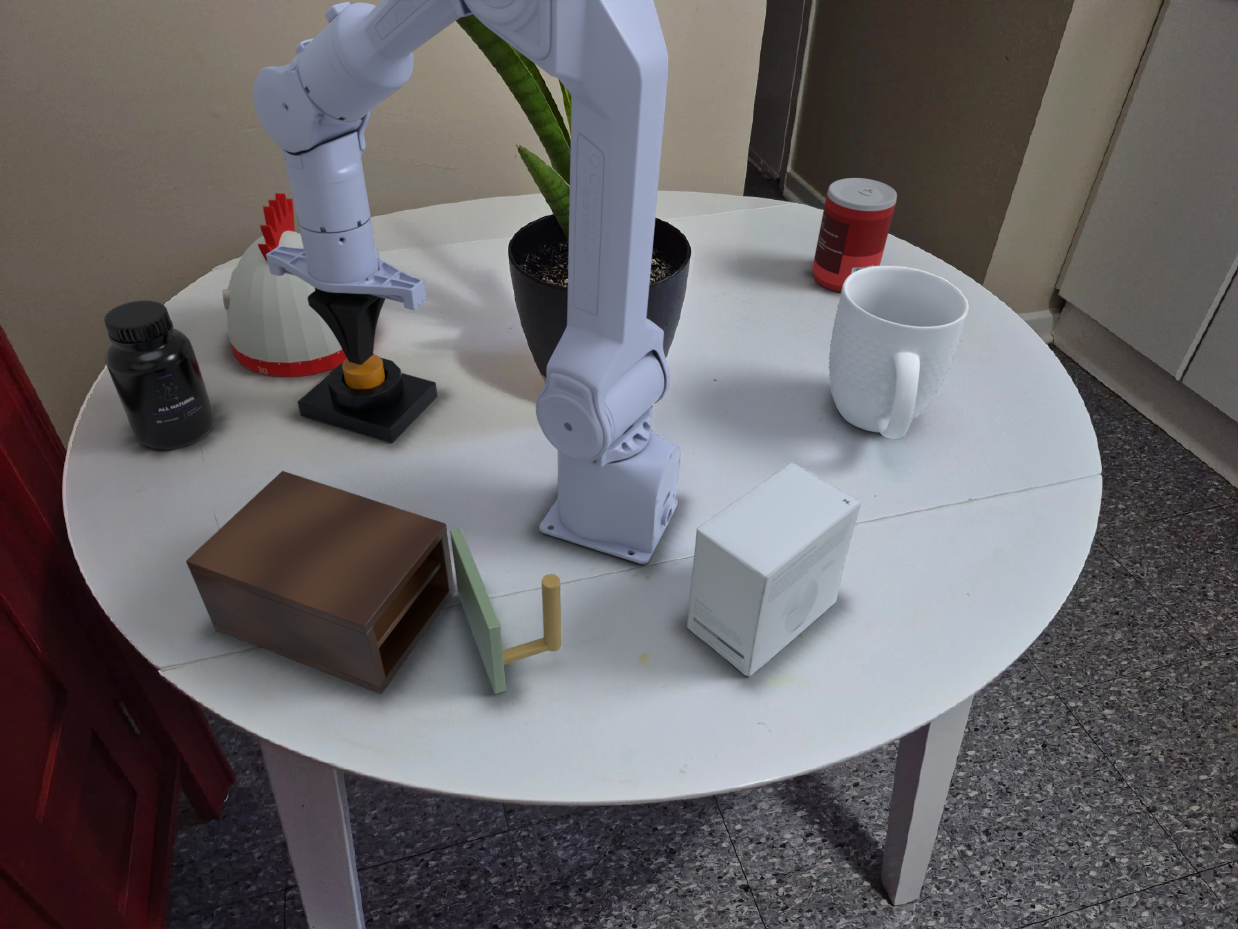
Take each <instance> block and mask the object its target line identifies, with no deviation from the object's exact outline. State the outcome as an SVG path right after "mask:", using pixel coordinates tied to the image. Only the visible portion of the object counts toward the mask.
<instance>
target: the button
mask: <svg viewBox="0 0 1238 929" xmlns="http://www.w3.org/2000/svg"><path fill="white" fill-rule="evenodd" d="M380 357H381V356H379V355H377V354H375V353H373V355H372V356H371V357H370V358H369V359H368V360H366V361H365V362H364V363H363V364H362V365H359V364H355V363H352V362H349V361H348V359H346V360H345V361H344V362H343V364H342V368H343V373H344V378H345V382H346V384H347V386H348V387H350V388H353V389H370V388H373V387H376V386H378V385H381V384H382V383H383V382H384V380H385V373H384V368H383V362H382V359H381V358H382V357H381V358H380Z"/></svg>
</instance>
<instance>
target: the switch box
mask: <svg viewBox="0 0 1238 929" xmlns="http://www.w3.org/2000/svg"><path fill="white" fill-rule="evenodd" d="M379 357H380V358H381V359H382V362H383V368H384V373H385V380H384V382H383V383H382V384H381V385H378V386H376V387H373V388H370V389H353V388H350V387H348V386H347V384H346V382H345V378H344V373H343V368H342V364H343V363H341V364H339V365H338V366H337V367H336V368H334V369H331V370H330V372H329V374H328V375H327V376H325V377H324V378H323V379H321V381H320V382H318V384H316V385H315V386H314V387H313V388H312V389H310V390H309V391H308V392H307V393H306V394H305V395H303V396H302V397H301V398H300V399H298V401H297V402H296V403H297V407H298V411H299V415H300V416H301V417H303V418H306V419H310V420H313V421H316V422H320V423H323V424H326V425H329V426H332V427H336V428H340V429H342V430H345V431H349V432H352V433H355V434H360V435H361V436H362V435H363V436H365V437H370V438H373V439H376V440H379V441H382V442H386V443H390V444H394V442H395V441H396V440H397V439H398V438H399V437H400V436H401V435H402V434H403V433H404V432H405V431H406V430H407V429H408V427H410V425H411V424H413V422H415V420H416V419H418V417H419V416H420V415H421V414H422V413H423V412H424V411H425V410H426V409H427V408H428V407H429V406H430V405H431V404H432V402H434V400H436V399H437V397H438V391H437V390H438V388H437V382H436V381H432V380H428V379H425V378H421V377H418V376H416V375H415V376H414V375H411V374H407V373H404V372H402V370H401V368H400V366H398V365H397V364H396V363H395V362H394V361H393V360H391V359H387V358H383V357H381V356H379Z"/></svg>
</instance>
